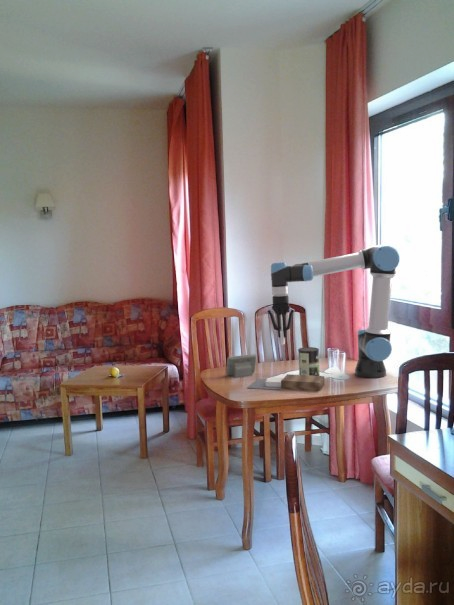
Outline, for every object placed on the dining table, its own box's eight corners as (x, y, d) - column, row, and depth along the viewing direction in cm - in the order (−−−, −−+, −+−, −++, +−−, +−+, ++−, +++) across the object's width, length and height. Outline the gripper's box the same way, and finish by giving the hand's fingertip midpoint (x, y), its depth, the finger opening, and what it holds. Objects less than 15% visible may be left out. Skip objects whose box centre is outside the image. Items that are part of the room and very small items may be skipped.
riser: (324, 384, 250) (324, 376, 250) (319, 391, 239) (319, 382, 239) (287, 382, 257) (287, 374, 256) (281, 389, 246) (281, 380, 245)
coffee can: (319, 374, 270) (319, 347, 268) (319, 379, 260) (318, 351, 258) (299, 374, 272) (298, 347, 271) (298, 379, 262) (297, 351, 261)
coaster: (285, 382, 255) (285, 377, 255) (282, 386, 248) (282, 382, 247) (269, 381, 258) (269, 377, 257) (265, 386, 250) (265, 381, 250)
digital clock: (255, 372, 280) (254, 352, 279) (258, 376, 272) (257, 355, 270) (225, 374, 279) (224, 354, 278) (227, 378, 270) (226, 357, 269)
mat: (288, 381, 259) (288, 380, 259) (280, 390, 244) (280, 389, 244) (257, 379, 264) (257, 378, 264) (247, 388, 249) (247, 387, 249)
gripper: (295, 293, 251) (298, 342, 254) (268, 294, 256) (271, 342, 258) (292, 295, 244) (294, 345, 247) (264, 296, 248) (267, 345, 251)
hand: (282, 344), depth 252 cm, fingers closed
